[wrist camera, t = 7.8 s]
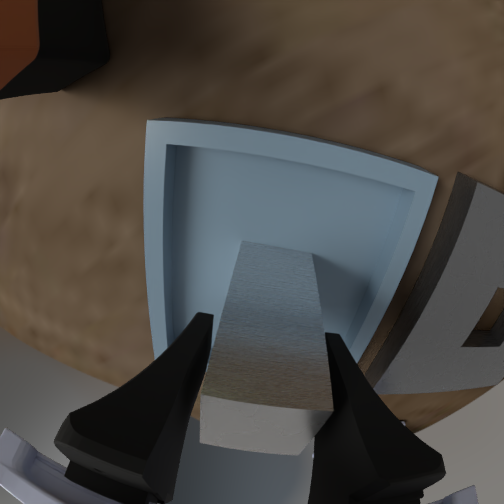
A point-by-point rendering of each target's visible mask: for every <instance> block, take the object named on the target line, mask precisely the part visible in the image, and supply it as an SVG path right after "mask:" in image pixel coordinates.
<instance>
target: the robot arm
mask: <svg viewBox="0 0 504 504" xmlns="http://www.w3.org/2000/svg"><path fill="white" fill-rule="evenodd" d="M213 319H214V315H213V314H208V313H203V312H197V313H196V314H195V316H194V317H193V319H192V320H191V321H190V323H189V324H188V325H187V326H186V328H185V329H184V330H183V331H182V332H181V334H180V335H179V336H178V337H177V338H176V339H175V340H174V341H173V343H172V344H171V345H170V346H169V347H168V348H167V349H166V350H165V351H164V352H163V353H162V354H161V355H160V356H159V357H158V358H157V359H156V360H154V361H153V362H152V363H151V364H150V365H149V366H148V367H146V368H145V369H144V370H143V371H142V372H140V373H139V374H138V375H137V376H135V377H134V378H132V379H131V380H130V381H128V382H127V383H125V384H124V385H122V386H121V387H119V388H118V389H117V390H115V391H113V392H112V393H109V394H108V395H106V396H104V397H102V398H101V399H99V400H97V401H95V402H93V403H91V404H89V405H87V406H84V407H82V408H80V409H78V410H75V411H73V412H71V413H69V415H68V416H67V418H66V419H65V421H64V422H63V424H62V425H61V427H60V429H59V431H58V433H57V435H56V437H55V439H54V444H55V446H56V447H57V448H58V449H59V450H60V451H61V452H62V453H63V454H64V455H65V456H66V457H67V458H68V459H69V460H70V463H69V465H68V467H67V468H66V467H64V466H62V465H61V464H59V463H57V462H55V461H53V460H52V459H50V458H48V457H46V456H45V455H43V454H41V453H40V452H38V451H37V450H36V449H35V448H34V447H33V446H32V445H31V444H29V443H28V442H27V441H25V440H24V439H23V438H21V437H20V436H18V435H17V434H15V433H14V432H12V431H11V430H10V429H8V428H5V429H4V431H3V433H2V435H1V436H0V485H1V486H2V487H3V488H4V489H5V490H7V491H8V492H9V493H10V494H12V495H13V496H14V497H16V498H17V499H18V500H19V501H21V502H22V503H23V504H157V503H160V504H165V503H168V502H170V501H172V500H173V494H174V489H175V483H176V478H177V472H178V468H179V463H180V457H181V453H182V448H183V444H184V439H185V435H186V430H187V426H188V422H189V418H190V415H191V412H192V409H193V406H194V403H195V401H196V398H197V395H198V392H199V389H200V386H201V384H202V381H203V378H204V375H205V372H206V369H207V365H208V360H209V356H210V351H211V344H212V331H213ZM325 340H326V348H327V355H328V364H329V372H330V381H331V390H332V399H333V410H334V411H333V413H332V414H331V415H330V417H329V418H328V419H327V421H326V422H325V423H324V425H323V426H322V427H321V428H320V430H319V431H318V432H317V433H316V435H315V441H314V454H313V455H312V457H313V459H314V460H313V470H312V479H311V486H310V494H309V500H308V504H420V498H423V496H424V494H423V490H424V489H425V488H427V487H429V486H431V485H433V484H434V483H436V482H438V481H439V480H441V479H442V478H443V477H444V476H445V474H446V471H445V466H444V462H443V458H442V455H441V454H440V453H438V452H437V451H436V450H434V449H433V448H431V447H429V446H428V445H427V444H426V443H424V442H423V441H422V440H420V439H419V438H418V437H417V436H416V435H415V434H413V433H412V432H411V431H410V430H409V429H408V428H407V427H406V426H405V422H404V421H400V420H399V419H398V418H397V417H396V416H395V415H394V414H393V413H392V412H391V411H390V410H389V408H388V407H387V406H386V405H385V404H384V402H383V401H382V400H381V399H380V397H379V396H378V395H377V394H376V392H375V391H374V389H373V388H372V386H371V385H370V384H369V382H368V381H367V379H366V378H365V376H364V374H363V373H362V371H361V370H360V368H359V366H358V365H357V363H356V361H355V360H354V358H353V356H352V355H351V353H350V351H349V349H348V348H347V346H346V344H345V342H344V341H343V339H342V337H341V336H340V334H337V333H329V332H325ZM429 504H478V499H477V494H476V489H475V486H474V485H472V486H470V487H467V488H465V489H462V490H460V491H457V492H455V493H453V494H451V495H449V496H447V497H445V498H444V499H441V500H439V501H435V502H432V503H429Z"/></svg>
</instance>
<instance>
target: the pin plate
mask: <svg viewBox="0 0 504 504" xmlns="http://www.w3.org/2000/svg"><path fill="white" fill-rule="evenodd" d="M498 287H500V288H504V193H502V192H500V191H498V190H496V189H494V188H492V187H490V186H488V185H486V184H484V183H482V182H480V181H478V180H476V179H473V178H471V177H469V176H467V175H464V174H462V173H460V172H458V173H457V176H456V180H455V183H454V186H453V190H452V193H451V196H450V199H449V202H448V205H447V208H446V211H445V214H444V217H443V219H442V222H441V225H440V228H439V230H438V233H437V235H436V238H435V241H434V243H433V246H432V248H431V250H430V253H429V255H428V258H427V260H426V262H425V264H424V267H423V269H422V271H421V273H420V276H419V278H418V280H417V282H416V284H415V286H414V288H413V290H412V292H411V294H410V296H409V298H408V300H407V302H406V304H405V306H404V308H403V310H402V312H401V314H400V316H399V318H398V319H397V321H396V323H395V325H394V327H393V328H392V330H391V332H390V334H389V336H388V337H387V339H386V341H385V342H384V344H383V346H382V347H381V349H380V351H379V352H378V354H377V356H376V357H375V359H374V360H373V362H372V364H371V365H370V367H369V368H368V370H367V371H366V373H365V377H366V379H367V381H368V382H369V384H370V385H371V386H372V388H373V389H374V391H375V392H376V394H412V393H430V392H443V391H454V390H463V389H471V388H478V387H485V386H492V385H497V384H498V383H499V382H500V381H501V380H502V379H503V377H504V309H503V311H502V313H501V314H500V316H499V318H498V319H497V321H496V322H495V324H494V326H493V327H492V329H491V330H490V331H480V330H473V328H474V327H475V325H476V324H477V322H478V321H479V319H480V317H481V316H482V314H483V312H484V311H485V309H486V307H487V306H488V304H489V302H490V301H491V299H492V297H493V295H494V293H495V292H496V290H497V288H498Z"/></svg>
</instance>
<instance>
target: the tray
mask: <svg viewBox="0 0 504 504" xmlns="http://www.w3.org/2000/svg"><path fill="white" fill-rule="evenodd" d="M437 180H438V176H436V175H434V174H433V173H431V172H429V171H427V170H425V169H423V168H422V167H419V166H416V165H413V164H411V163H408V162H404V161H401V160H398V159H395V158H392V157H389V156H385V155H382V154H379V153H375V152H372V151H368V150H365V149H361V148H357V147H353V146H350V145H346V144H342V143H337V142H333V141H329V140H325V139H320V138H316V137H311V136H306V135H301V134H296V133H291V132H286V131H280V130H274V129H268V128H262V127H255V126H248V125H241V124H233V123H225V122H216V121H206V120H195V119H181V118H158V119H151V120H147V128H146V143H145V163H144V244H145V265H146V281H147V294H148V305H149V315H150V324H151V333H152V341H153V348H154V356H155V360H156V359H157V358H158V357H159V356H160V355H161V354H162V353H163V352H164V351H165V350H166V349H167V348H168V347H169V346H170V345H171V344H172V343H173V341H174V340H175V339H176V338H177V337H178V336H179V335H180V334H181V332H182V331H183V330H184V329H185V328H186V326H187V325H188V324H189V323H190V321H191V320H192V319H193V317H194V316H195V314H196V313H197V312H203V313H208V314H213V315H214V319H213V331H212V344H211V351H210V356H209V360H208V364H209V361H210V357H211V353H212V349H213V345H214V342H215V338H216V334H217V330H218V327H219V323H220V319H221V315H222V312H223V308H224V304H225V300H226V297H227V293H228V289H229V286H230V282H231V278H232V275H233V271H234V267H235V264H236V260H237V256H238V253H239V249H240V245H241V242H242V241H247V242H253V243H259V244H264V245H270V246H276V247H281V248H287V249H293V250H298V251H304V252H309V253H312V258H313V264H314V269H315V275H316V281H317V287H318V293H319V299H320V306H321V312H322V319H323V326H324V333H325V332H329V333H337V334H340V336H341V337H342V339H343V341H344V342H345V344H346V346H347V348H348V349H349V351H350V353H351V355H352V356H353V358H354V360H355V361H356V363H358V361H359V359H360V358H361V356H362V354H363V352H364V351H365V349H366V347H367V345H368V344H369V342H370V340H371V338H372V336H373V335H374V333H375V331H376V329H377V327H378V325H379V323H380V321H381V320H382V318H383V316H384V314H385V312H386V310H387V308H388V306H389V304H390V302H391V300H392V297H393V295H394V293H395V291H396V289H397V287H398V285H399V282H400V280H401V278H402V276H403V273H404V271H405V269H406V267H407V264H408V262H409V259H410V257H411V255H412V252H413V250H414V247H415V245H416V242H417V240H418V237H419V234H420V232H421V229H422V226H423V223H424V221H425V218H426V215H427V212H428V209H429V206H430V203H431V200H432V197H433V194H434V190H435V187H436V184H437ZM207 368H208V365H207ZM206 372H207V369H206Z"/></svg>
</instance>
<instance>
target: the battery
mask: <svg viewBox="0 0 504 504" xmlns="http://www.w3.org/2000/svg"><path fill="white" fill-rule="evenodd" d="M109 56H110V55H109V48H108V42H107V36H106V30H105V24H104V17H103V11H102V3H101V0H0V99H6V98H12V97H18V96H25V95H32V94H41V93H51V92H58V91H60V90H61V89H63V88H65V87H66V86H68V85H69V84H71V83H73V82H74V81H76V80H78V79H79V78H81V77H83V76H84V75H86V74H88V73H90V72H91V71H93V70H95V69H97V68H99V67H101V66H102V65H104V64H106V63H107V62H108V60H109Z"/></svg>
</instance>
